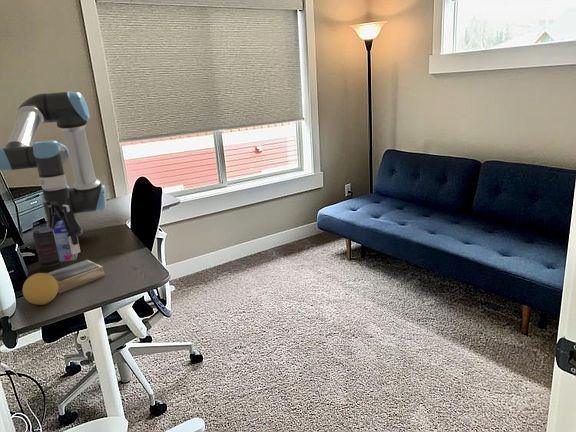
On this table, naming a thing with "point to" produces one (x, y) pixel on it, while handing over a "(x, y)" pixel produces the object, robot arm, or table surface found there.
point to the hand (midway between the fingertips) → (68, 249)
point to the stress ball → (40, 288)
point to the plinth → (77, 274)
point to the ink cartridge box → (63, 243)
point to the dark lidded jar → (46, 248)
